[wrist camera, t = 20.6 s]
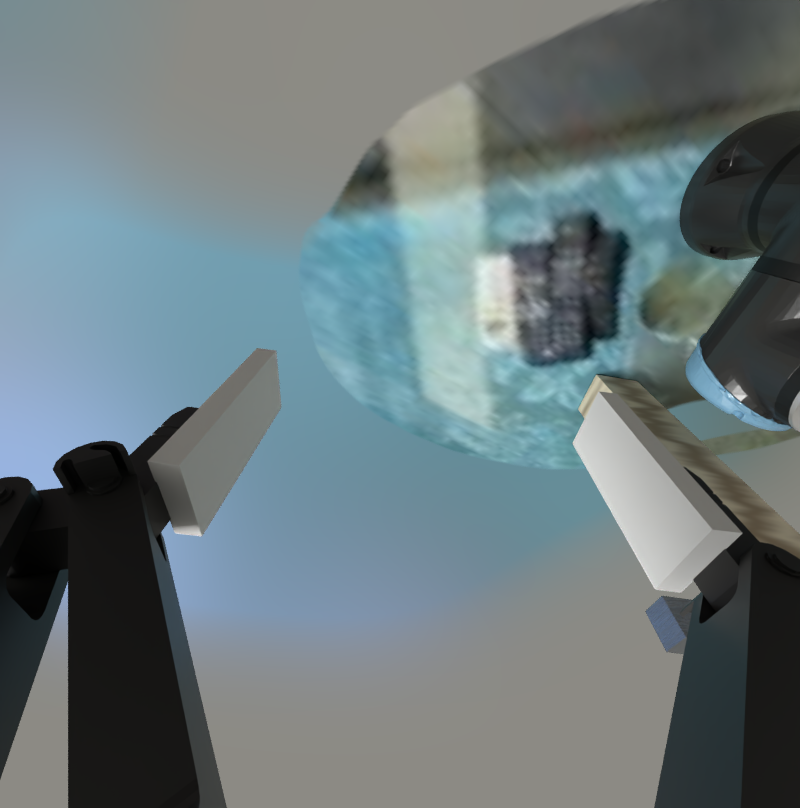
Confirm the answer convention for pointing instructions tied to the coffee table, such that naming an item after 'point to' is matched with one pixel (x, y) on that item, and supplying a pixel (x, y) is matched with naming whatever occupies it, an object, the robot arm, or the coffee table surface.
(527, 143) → the coffee table surface
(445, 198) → the coffee table surface
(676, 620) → the bar
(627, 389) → the pedestal
